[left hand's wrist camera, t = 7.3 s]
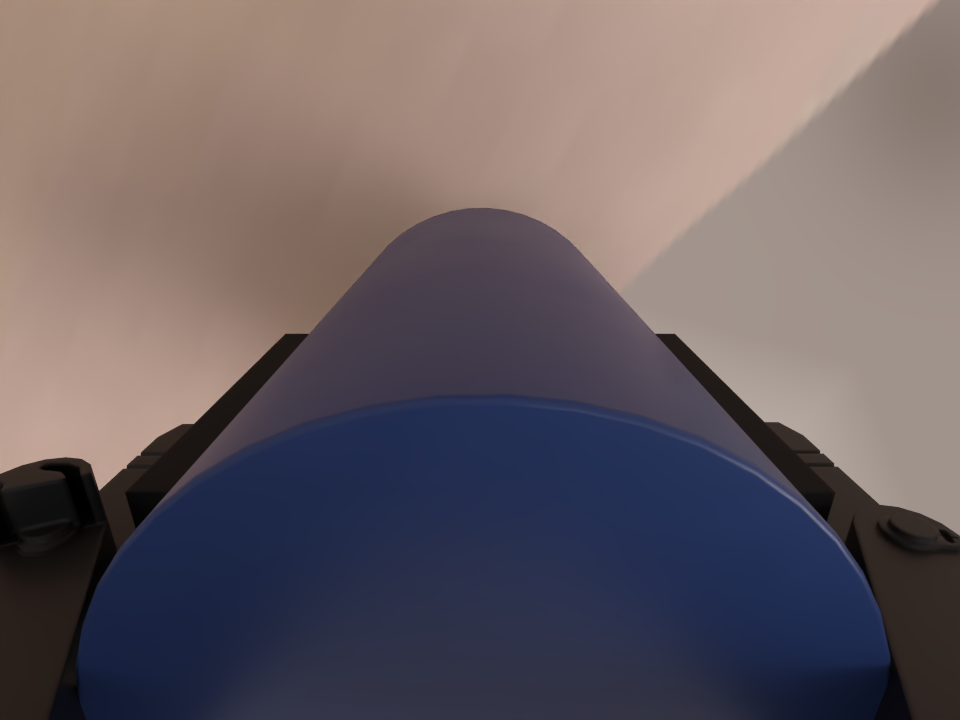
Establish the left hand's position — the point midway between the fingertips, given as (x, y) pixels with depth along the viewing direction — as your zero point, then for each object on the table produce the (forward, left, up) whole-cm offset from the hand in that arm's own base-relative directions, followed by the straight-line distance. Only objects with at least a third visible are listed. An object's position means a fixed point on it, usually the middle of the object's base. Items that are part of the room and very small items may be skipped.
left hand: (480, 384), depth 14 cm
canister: (0, 0, -4) cm, 4 cm away
